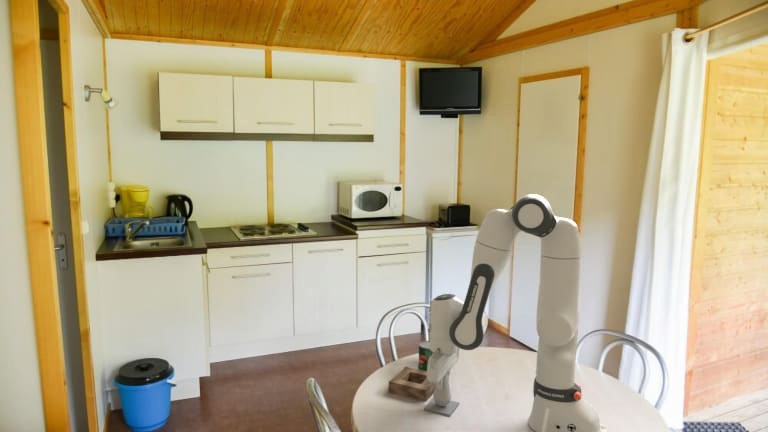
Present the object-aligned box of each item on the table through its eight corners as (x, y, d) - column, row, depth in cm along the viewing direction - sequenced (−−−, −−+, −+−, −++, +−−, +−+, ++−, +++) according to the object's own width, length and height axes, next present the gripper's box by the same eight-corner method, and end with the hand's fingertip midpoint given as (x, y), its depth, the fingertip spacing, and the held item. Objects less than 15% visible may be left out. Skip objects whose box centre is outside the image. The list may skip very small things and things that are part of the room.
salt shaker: (450, 408, 161) (451, 369, 160) (432, 406, 162) (433, 367, 161) (451, 399, 167) (452, 362, 165) (434, 398, 168) (435, 360, 166)
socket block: (440, 385, 181) (441, 374, 180) (426, 401, 168) (426, 390, 168) (405, 377, 187) (405, 366, 187) (388, 392, 175) (388, 381, 174)
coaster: (459, 404, 167) (459, 402, 167) (450, 416, 159) (450, 414, 159) (434, 398, 171) (434, 396, 171) (423, 409, 163) (423, 408, 163)
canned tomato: (413, 371, 192) (414, 344, 190) (428, 366, 197) (428, 339, 196) (429, 378, 186) (429, 350, 185) (443, 372, 191) (444, 344, 190)
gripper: (441, 357, 152) (440, 400, 153) (462, 336, 170) (461, 375, 171) (422, 353, 154) (421, 396, 156) (445, 333, 173) (444, 371, 174)
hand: (442, 385), depth 164 cm, fingers closed on salt shaker, 4 cm apart
